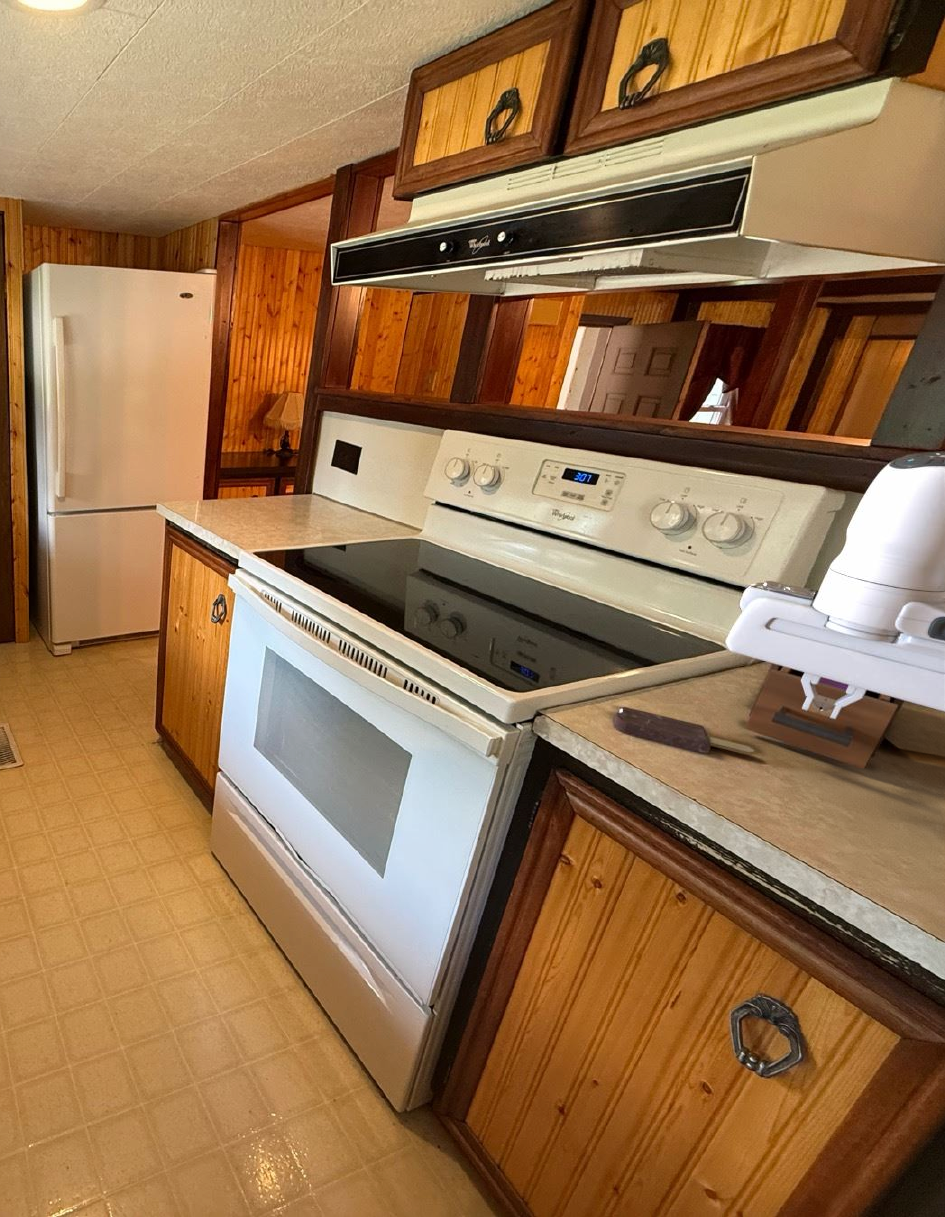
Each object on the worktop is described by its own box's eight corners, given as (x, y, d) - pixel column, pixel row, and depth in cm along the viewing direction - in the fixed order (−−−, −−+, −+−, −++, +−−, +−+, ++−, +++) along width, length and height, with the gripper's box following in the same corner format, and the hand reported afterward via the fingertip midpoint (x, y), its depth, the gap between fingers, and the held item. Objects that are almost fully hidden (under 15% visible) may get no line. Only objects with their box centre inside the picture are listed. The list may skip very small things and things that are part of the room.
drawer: (859, 783, 78) (893, 719, 75) (737, 739, 86) (763, 681, 83) (875, 731, 90) (906, 674, 86) (766, 697, 98) (790, 644, 94)
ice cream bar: (746, 747, 86) (610, 713, 93) (751, 737, 86) (614, 703, 93) (755, 767, 82) (613, 730, 89) (761, 756, 82) (616, 720, 89)
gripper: (744, 581, 77) (701, 684, 82) (1022, 641, 62) (948, 763, 67) (755, 571, 80) (713, 671, 86) (1019, 627, 66) (950, 743, 71)
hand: (818, 712), depth 76 cm, fingers closed
